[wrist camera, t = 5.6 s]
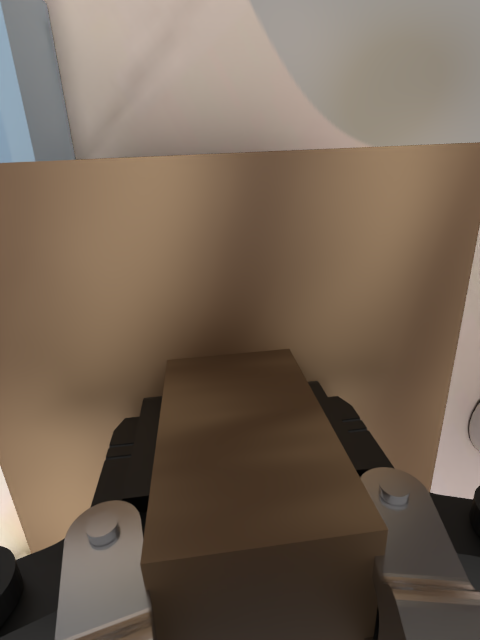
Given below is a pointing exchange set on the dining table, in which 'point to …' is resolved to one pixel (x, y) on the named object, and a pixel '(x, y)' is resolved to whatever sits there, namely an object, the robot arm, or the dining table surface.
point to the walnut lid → (234, 361)
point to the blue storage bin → (30, 87)
